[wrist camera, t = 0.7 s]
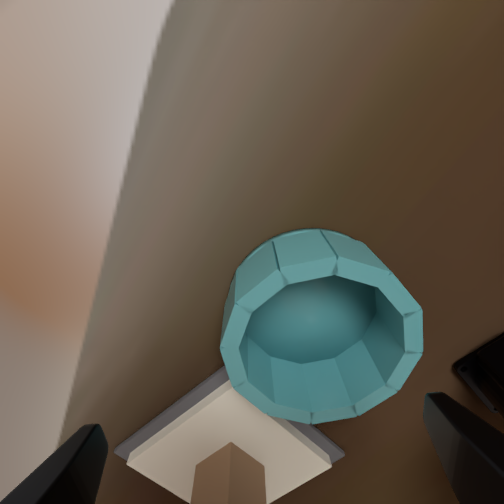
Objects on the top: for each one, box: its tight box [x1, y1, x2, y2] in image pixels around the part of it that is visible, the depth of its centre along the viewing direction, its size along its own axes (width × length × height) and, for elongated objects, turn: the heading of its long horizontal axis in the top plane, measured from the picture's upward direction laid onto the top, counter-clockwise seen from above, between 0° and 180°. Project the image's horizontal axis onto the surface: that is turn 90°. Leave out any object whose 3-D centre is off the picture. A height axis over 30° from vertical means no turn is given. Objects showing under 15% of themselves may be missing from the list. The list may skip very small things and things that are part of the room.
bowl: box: [220, 228, 423, 424], centre depth 20 cm, size 11×11×5 cm
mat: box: [114, 365, 345, 464], centre depth 28 cm, size 14×14×1 cm
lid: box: [127, 379, 332, 504], centre depth 25 cm, size 12×12×6 cm
